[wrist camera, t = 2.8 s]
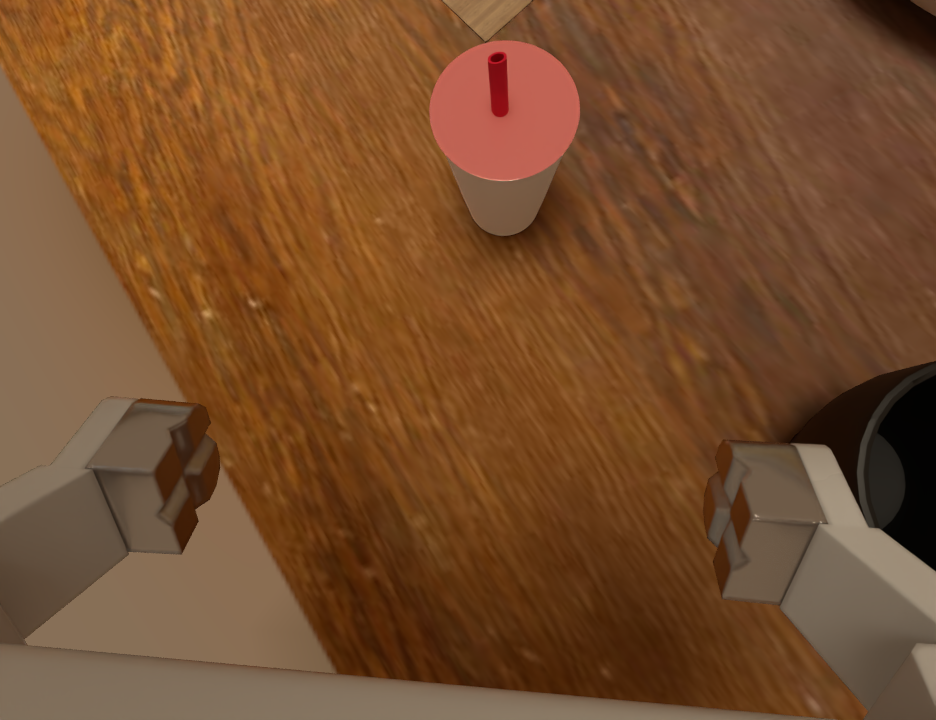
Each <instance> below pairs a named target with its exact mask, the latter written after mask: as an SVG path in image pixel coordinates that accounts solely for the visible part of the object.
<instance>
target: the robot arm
mask: <svg viewBox="0 0 936 720" xmlns="http://www.w3.org/2000/svg"><path fill="white" fill-rule="evenodd" d="M210 424H211V421H210V418H209V415H208V412H207V409H206V407H205V406H203V405H201V404H197V403H186V402H175V401H164V400H152V399H142V398H141V399H135V398H124V397H114V396H111V397H108V398H106V399H104V400H102V401H101V402H100V403H99V405H98V406H97V407H96V408H95V410H94V411H93V412H92V414H91V415H90V416H89V417H88V418H87V420H86V421H85V422H84V423H83V425H82V426H81V427H80V429H79V430H78V431H77V432H76V433H75V435H74V436H73V437H72V438H71V440H70V441H69V442H68V443H67V445H66V446H65V447H64V448H63V450H62V451H61V452H60V453H59V455H58V456H57V457H56V458H55V460H54V461H53V462H52V463H51V465H50V466H38V467H36V468H34V469H32V470H30V471H28V472H27V473H25V474H23V475H21V476H19V477H17V478H15V479H13V480H11V481H10V482H7V483H5V484H4V485H2V486H0V720H835V719H824V718H813V717H802V716H791V715H780V714H770V713H759V712H748V711H737V710H726V709H715V708H704V707H694V706H683V705H672V704H661V703H650V702H639V701H628V700H616V699H605V698H594V697H583V696H572V695H561V694H550V693H539V692H528V691H517V690H506V689H495V688H484V687H473V686H462V685H451V684H441V683H430V682H419V681H408V680H397V679H387V678H376V677H365V676H354V675H344V674H333V673H321V672H311V671H300V670H290V669H279V668H268V667H257V666H246V665H235V664H225V663H214V662H213V663H212V662H202V661H192V660H181V659H169V658H159V657H149V656H137V655H127V654H116V653H105V652H94V651H83V650H72V649H61V648H51V647H40V646H28V645H27V643H26V642H25V640H24V639H25V638H26V637H27V636H29V635H30V634H31V633H33V632H34V631H35V630H36V629H37V628H39V627H40V626H41V625H42V624H44V623H45V622H46V621H47V620H49V619H50V618H51V617H52V616H53V615H54V614H56V613H57V612H58V611H60V610H61V609H62V608H63V607H65V606H66V605H67V604H68V603H70V602H71V601H72V600H73V599H74V598H76V597H77V596H78V595H79V594H81V593H82V592H83V591H84V590H86V589H87V588H88V587H89V586H91V585H92V584H93V583H94V582H95V581H97V580H98V579H99V578H100V577H102V576H103V575H104V574H105V573H106V572H108V571H109V570H110V569H112V568H113V567H114V566H115V565H116V564H118V563H119V562H120V561H121V560H123V559H124V558H125V557H126V556H127V555H128V554H129V553H128V552H144V553H162V554H163V553H164V554H182V553H183V550H184V549H185V547H186V545H187V543H188V541H189V539H190V537H191V535H192V533H193V531H194V529H195V527H196V525H197V523H198V518H197V514H196V511H195V509H197V508H198V507H199V506H201V505H202V504H204V503H205V502H207V501H208V500H210V498H211V495H212V494H213V492H214V489H215V487H216V485H217V480H218V475H219V471H220V456H219V451H218V447H217V443H216V442H215V441H213V440H212V439H211V438H210V437H209V436H208V435H207V434H206V433H205V432H206V431H207V429H208V427H209V425H210ZM715 460H716V464H717V468H718V472H717V473H716V474H714V475H713V476H712V477H710V478H709V479H708V483H707V486H706V490H705V494H704V506H703V515H704V525H705V530H706V534H707V538H708V539H709V540H710V541H711V542H712V543H713V544H714V545H715V546H716V547H717V551H716V554H715V557H714V560H713V564H714V569H715V573H716V577H717V581H718V585H719V589H720V593H721V597H722V599H726V600H735V601H745V602H754V603H763V604H772V605H781V606H780V609H781V610H782V611H783V613H784V614H785V615H786V616H787V617H788V618H789V620H790V621H791V622H792V623H793V624H794V625H795V627H796V628H797V629H798V630H799V631H800V632H801V634H802V635H803V636H804V637H805V638H806V639H807V641H808V642H809V643H810V644H811V645H812V646H813V648H814V649H815V650H816V651H817V652H818V653H819V655H820V656H821V657H822V658H823V659H824V660H825V661H826V663H827V664H828V665H829V666H830V667H831V668H832V670H833V671H834V672H835V673H836V674H837V675H838V677H839V678H840V679H841V680H842V681H843V682H844V684H845V685H846V686H847V687H848V688H849V689H850V691H851V692H852V693H853V694H854V695H855V696H856V698H857V699H858V700H859V701H860V702H861V703H862V705H863V706H864V707H865V708H866V709H867V710H868V713H867V714H866V716H865V717H864V719H863V720H936V571H934V570H933V569H932V568H930V567H929V566H928V565H926V564H925V563H924V562H922V561H921V560H920V559H919V558H917V557H916V556H915V555H913V554H912V553H911V552H909V551H908V550H907V549H905V548H904V547H903V546H901V545H900V544H899V543H898V542H896V541H895V540H894V539H892V538H891V537H890V536H888V535H887V534H886V533H884V532H883V531H882V530H881V529H879V528H869V527H868V525H867V523H866V521H865V519H864V516H863V514H862V512H861V510H860V508H859V506H858V504H857V502H856V500H855V498H854V496H853V494H852V492H851V490H850V488H849V486H848V483H847V481H846V479H845V477H844V475H843V473H842V471H841V469H840V467H839V465H838V463H837V461H836V459H835V457H834V455H833V453H832V450H831V449H830V448H829V447H827V446H826V445H818V444H799V443H791V444H787V443H773V442H757V441H740V440H724V439H723V441H722V442H721V444H720V445H719V447H718V450H717V453H716V456H715Z"/></svg>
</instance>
